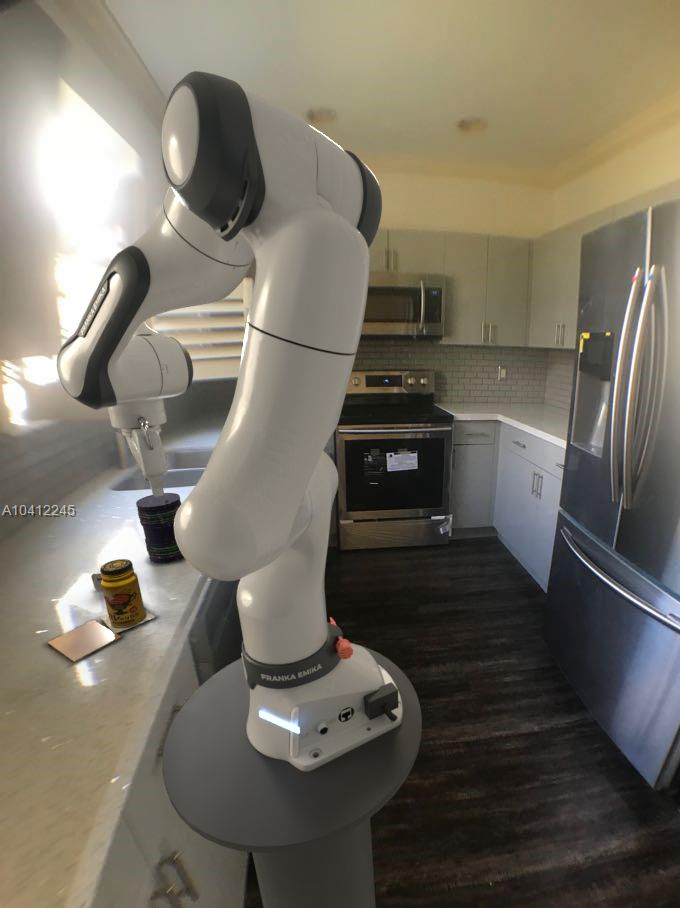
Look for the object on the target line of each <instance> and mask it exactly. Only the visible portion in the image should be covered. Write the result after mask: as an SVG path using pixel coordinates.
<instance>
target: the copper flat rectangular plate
mask: <svg viewBox="0 0 680 908" xmlns="http://www.w3.org/2000/svg"><path fill="white" fill-rule="evenodd" d="M121 638H122V636H121V635H119V634H118V633H114V632H113V631H112V630H111V629H110V628H109V627H106V626H105V625H103V624H101V623H100V622H97V621H96V620H94V619H92V620H91V621H88V622H86V623H84V624H83V625H82V624H81V625H80V626H77V627H76V628H74V629H72V630H70V631H68V632H66V633H64V634H62V635H59V636H58V637H55V638H53V639H51V640H49V641H47V644H48V645H50V646H51V647H52V648H54V649H55V650H56V651H57V652H59V653H61V654H62V655H63V656H65V657H66V658H67V659H69V660H70V661H72V663H77V662H79V661H80V660H82V659H84V658H86V657H88V656H90V655H92V654H93V653H95V652H98V651H99V650H101V649H103V648H105V647H107V646H108V645H110V644H112V643H114V642H116V641H118V640H120V639H121Z"/></svg>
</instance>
